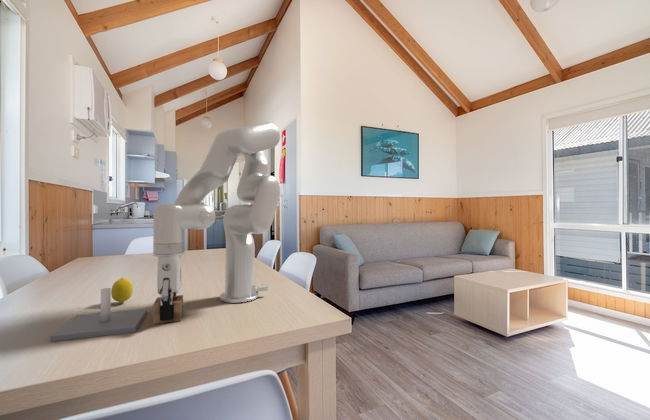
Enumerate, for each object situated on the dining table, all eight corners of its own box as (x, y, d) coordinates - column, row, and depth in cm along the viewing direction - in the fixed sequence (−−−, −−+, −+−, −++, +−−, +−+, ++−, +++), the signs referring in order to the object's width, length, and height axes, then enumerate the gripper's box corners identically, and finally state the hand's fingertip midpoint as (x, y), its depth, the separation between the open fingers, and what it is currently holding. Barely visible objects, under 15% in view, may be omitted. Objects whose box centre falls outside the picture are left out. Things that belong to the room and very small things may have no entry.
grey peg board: (147, 312, 83) (147, 280, 83) (135, 331, 70) (135, 293, 70) (77, 319, 78) (78, 284, 78) (50, 341, 64) (51, 299, 65)
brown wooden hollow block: (182, 312, 83) (183, 295, 83) (180, 320, 77) (180, 301, 77) (157, 315, 81) (157, 297, 81) (153, 323, 75) (153, 304, 75)
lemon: (121, 306, 88) (122, 280, 88) (106, 305, 89) (106, 279, 89) (136, 301, 93) (137, 276, 93) (122, 300, 94) (122, 275, 95)
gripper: (181, 253, 72) (180, 325, 73) (187, 244, 89) (186, 303, 89) (146, 254, 70) (146, 329, 70) (158, 245, 86) (158, 306, 86)
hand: (168, 314), depth 79 cm, fingers closed on brown wooden hollow block, 6 cm apart
